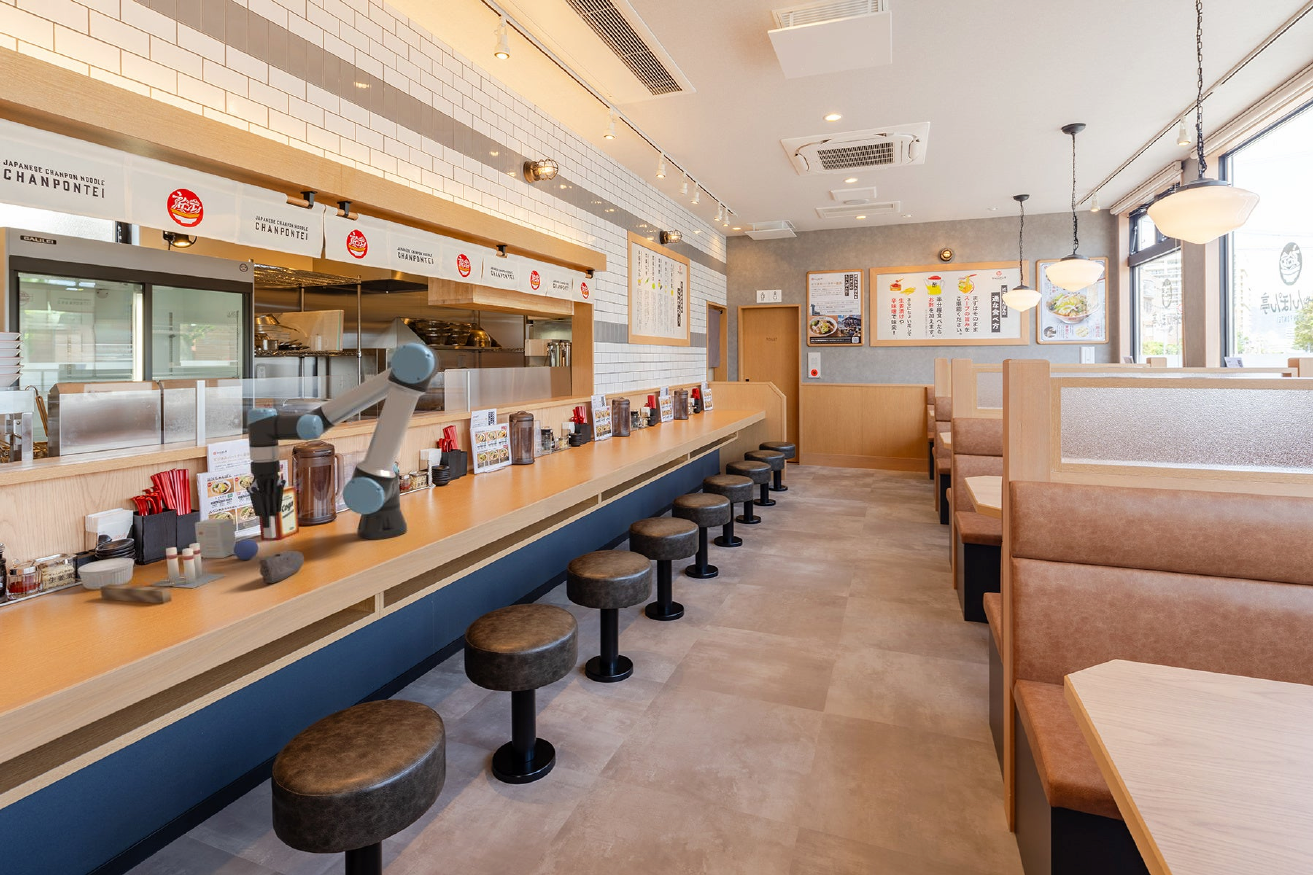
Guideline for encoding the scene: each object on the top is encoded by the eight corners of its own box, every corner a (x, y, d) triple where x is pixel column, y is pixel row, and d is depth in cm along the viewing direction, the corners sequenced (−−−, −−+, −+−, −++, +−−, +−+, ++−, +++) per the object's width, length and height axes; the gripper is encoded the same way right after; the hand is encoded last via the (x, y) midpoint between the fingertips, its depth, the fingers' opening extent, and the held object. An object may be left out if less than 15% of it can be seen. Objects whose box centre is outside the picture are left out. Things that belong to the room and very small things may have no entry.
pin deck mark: (226, 575, 172) (226, 574, 172) (192, 588, 162) (192, 587, 162) (185, 572, 175) (185, 572, 175) (150, 585, 165) (150, 584, 165)
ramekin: (103, 592, 160) (101, 572, 160) (67, 590, 163) (65, 569, 162) (147, 578, 171) (145, 558, 171) (112, 575, 174) (110, 556, 173)
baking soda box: (280, 532, 217) (276, 485, 215) (299, 532, 216) (295, 485, 215) (261, 539, 207) (257, 490, 206) (280, 540, 207) (276, 490, 205)
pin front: (205, 576, 172) (201, 543, 171) (197, 578, 170) (194, 545, 169) (197, 575, 172) (194, 542, 171) (190, 578, 170) (186, 545, 169)
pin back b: (182, 580, 168) (179, 547, 167) (174, 583, 166) (170, 549, 165) (175, 580, 169) (171, 546, 168) (166, 583, 166) (163, 549, 165)
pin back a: (198, 582, 167) (195, 548, 166) (190, 585, 165) (187, 550, 164) (191, 581, 168) (187, 547, 167) (183, 584, 165) (179, 550, 164)
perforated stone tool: (295, 568, 178) (293, 543, 177) (312, 569, 177) (311, 544, 176) (253, 586, 163) (251, 560, 163) (271, 587, 163) (269, 561, 162)
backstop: (171, 600, 154) (170, 588, 154) (163, 603, 152) (162, 591, 152) (110, 596, 158) (108, 584, 157) (101, 598, 156) (100, 586, 155)
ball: (263, 556, 189) (262, 536, 188) (247, 562, 183) (245, 542, 182) (246, 555, 190) (244, 535, 189) (229, 561, 184) (227, 541, 184)
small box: (237, 552, 193) (234, 518, 192) (223, 558, 188) (219, 523, 187) (212, 552, 194) (209, 518, 193) (197, 558, 189) (194, 522, 187)
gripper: (271, 456, 200) (276, 531, 202) (236, 463, 187) (241, 542, 190) (292, 457, 198) (296, 532, 201) (258, 463, 186) (263, 543, 188)
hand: (270, 537), depth 195 cm, fingers closed
